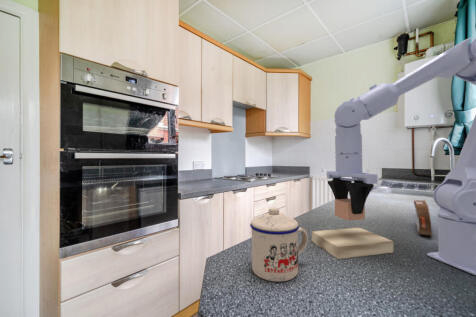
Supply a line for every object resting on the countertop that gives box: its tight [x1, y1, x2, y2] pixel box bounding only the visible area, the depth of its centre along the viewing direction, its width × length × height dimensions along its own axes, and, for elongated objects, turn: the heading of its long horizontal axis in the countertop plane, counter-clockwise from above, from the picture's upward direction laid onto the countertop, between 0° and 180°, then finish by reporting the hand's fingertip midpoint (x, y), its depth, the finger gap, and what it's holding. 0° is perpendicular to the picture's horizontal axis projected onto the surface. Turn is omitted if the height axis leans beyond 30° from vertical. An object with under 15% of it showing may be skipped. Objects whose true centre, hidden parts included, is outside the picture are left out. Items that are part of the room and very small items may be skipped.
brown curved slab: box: [413, 199, 433, 237], centre depth 61 cm, size 15×3×8 cm, turn 143°
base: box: [311, 227, 394, 260], centre depth 51 cm, size 10×14×2 cm
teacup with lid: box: [249, 207, 309, 282], centre depth 41 cm, size 12×9×12 cm
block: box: [334, 198, 366, 222], centre depth 51 cm, size 4×4×4 cm
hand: (349, 211), depth 51 cm, fingers closed on block, 4 cm apart
